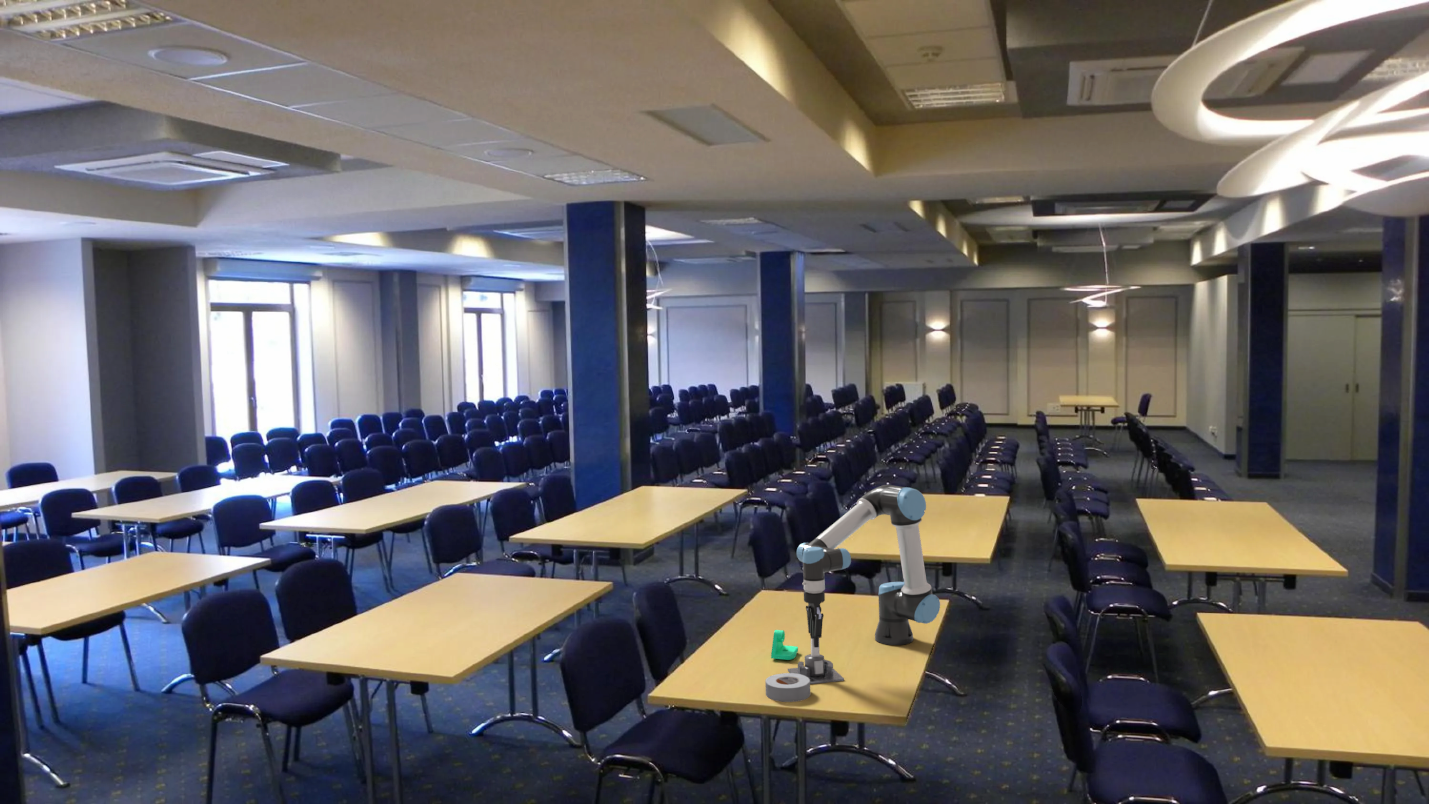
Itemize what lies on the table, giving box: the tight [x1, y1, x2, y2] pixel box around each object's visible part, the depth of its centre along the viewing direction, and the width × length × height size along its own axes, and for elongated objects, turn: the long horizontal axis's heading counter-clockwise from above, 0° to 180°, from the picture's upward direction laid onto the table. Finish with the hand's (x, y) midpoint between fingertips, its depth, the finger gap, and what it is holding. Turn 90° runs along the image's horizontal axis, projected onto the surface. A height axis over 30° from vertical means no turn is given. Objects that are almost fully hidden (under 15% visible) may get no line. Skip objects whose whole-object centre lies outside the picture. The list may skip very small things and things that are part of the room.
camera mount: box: [770, 629, 799, 661], centre depth 384 cm, size 12×8×10 cm, turn 161°
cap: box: [804, 653, 825, 676], centre depth 361 cm, size 7×8×6 cm
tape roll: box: [764, 672, 811, 703], centre depth 344 cm, size 15×15×5 cm
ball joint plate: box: [787, 658, 845, 685], centre depth 361 cm, size 16×16×4 cm
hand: (815, 654), depth 361 cm, fingers closed
